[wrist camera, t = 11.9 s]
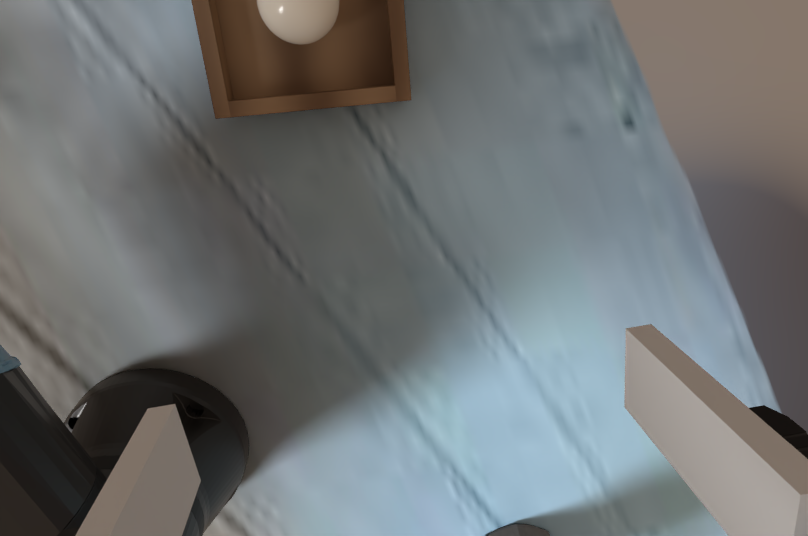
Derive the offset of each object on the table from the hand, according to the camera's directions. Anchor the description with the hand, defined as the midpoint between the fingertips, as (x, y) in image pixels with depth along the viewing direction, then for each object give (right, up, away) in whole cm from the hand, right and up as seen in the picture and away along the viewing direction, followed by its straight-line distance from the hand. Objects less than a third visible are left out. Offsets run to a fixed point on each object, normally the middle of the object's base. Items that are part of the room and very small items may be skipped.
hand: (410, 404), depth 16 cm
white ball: (-7, +21, +20) cm, 30 cm away
